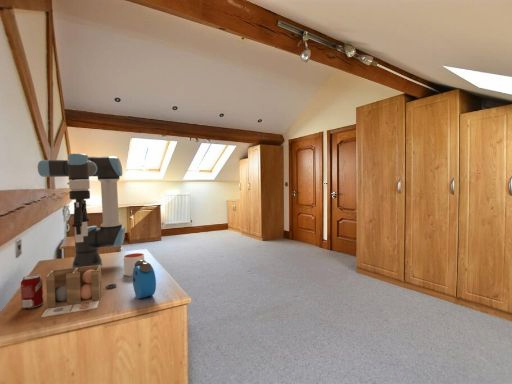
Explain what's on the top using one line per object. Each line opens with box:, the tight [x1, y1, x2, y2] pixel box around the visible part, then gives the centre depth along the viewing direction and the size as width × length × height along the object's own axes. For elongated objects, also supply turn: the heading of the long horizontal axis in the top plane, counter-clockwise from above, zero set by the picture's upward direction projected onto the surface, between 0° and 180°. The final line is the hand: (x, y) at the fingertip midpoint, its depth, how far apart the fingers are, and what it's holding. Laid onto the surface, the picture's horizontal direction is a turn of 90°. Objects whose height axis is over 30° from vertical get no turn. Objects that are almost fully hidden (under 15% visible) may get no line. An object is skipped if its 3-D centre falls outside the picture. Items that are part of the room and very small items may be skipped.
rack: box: [45, 264, 103, 309], centre depth 118 cm, size 9×18×13 cm, turn 113°
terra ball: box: [82, 269, 94, 284], centre depth 121 cm, size 6×6×6 cm
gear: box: [105, 283, 117, 290], centre depth 133 cm, size 4×4×1 cm
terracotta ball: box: [80, 284, 92, 299], centre depth 118 cm, size 6×6×6 cm
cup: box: [123, 252, 145, 277], centre depth 153 cm, size 10×10×10 cm
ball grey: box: [55, 286, 67, 302], centre depth 117 cm, size 6×6×6 cm
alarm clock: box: [132, 259, 157, 299], centre depth 121 cm, size 13×6×15 cm, turn 38°
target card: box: [40, 301, 100, 318], centre depth 110 cm, size 7×18×1 cm, turn 113°
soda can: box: [20, 273, 44, 309], centre depth 114 cm, size 7×7×12 cm
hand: (82, 239), depth 124 cm, fingers open, 13 cm apart
